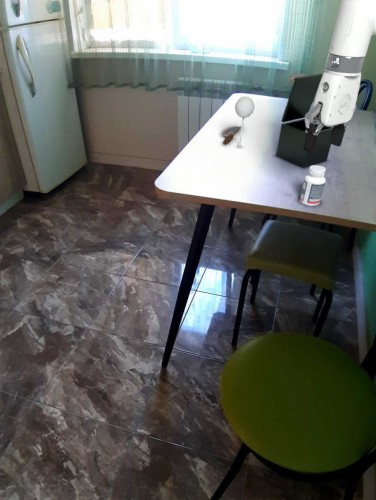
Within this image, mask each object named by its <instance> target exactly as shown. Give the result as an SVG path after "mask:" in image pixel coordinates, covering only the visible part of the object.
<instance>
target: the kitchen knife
mask: <svg viewBox="0 0 376 500" xmlns="http://www.w3.org/2000/svg"><path fill="white" fill-rule="evenodd" d="M240 129H241V126H234V127H231V128H229V129H226V130H224V131H223V132H222V136H223V137H225V138H224V140H223V144H224V145H227V144H229V143H230V142H231V141H232V140H233V139H234V135H236V133H237V132H238V131H239V130H240Z"/></svg>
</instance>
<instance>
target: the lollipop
mask: <svg viewBox="0 0 376 500" xmlns="http://www.w3.org/2000/svg"><path fill="white" fill-rule="evenodd" d="M234 110H235V113H236V115H237V116H238V117H239V118H242V121H241V127H240V135H239V136H240V137H239V145H238V148H241V146H242V139H243V130H244V129H243V128H244V123H245V122H244V121H245V119H247V118H249V117H251V115H252V114H253V113H254V110H255V103H254V101H253V99H252V98H251V97H250V96H241V97H240V98H239V99H238V100H237V101H236V102H235V104H234Z"/></svg>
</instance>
